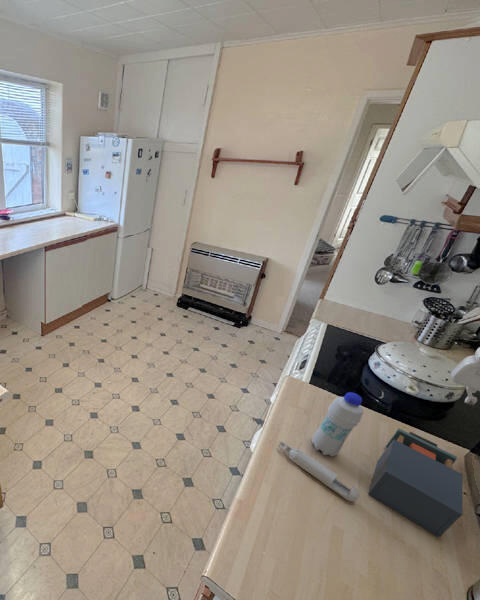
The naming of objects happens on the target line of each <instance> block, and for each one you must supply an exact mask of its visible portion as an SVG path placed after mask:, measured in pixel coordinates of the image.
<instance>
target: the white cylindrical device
mask: <svg viewBox="0 0 480 600" xmlns="http://www.w3.org/2000/svg"><path fill="white" fill-rule="evenodd" d="M302 443H303V441H301V442H300V444H299V445H298V447H297V448H293V447H291V446H290V445H288V443H285V442H284V441H280V442H279V443H278V448H279V449H281V450H282V451H283V452H284V453H286V454H287V455H288V457H289V459H290V461H292V462H293V463H295V465H297V466H298V467H300V468H301V469H303V470H304V471H305V472H306V473H308V474H310V475H311V476H313V477H314V478H316V479H317V480H318V481H320V482H321V483H322V484H324V485H325V486H326V487H328V488H329V489H331V490H332V491H334V492H335V493H336V494H337V495H339V496H341V497H342V498H343V499H345V500H347V501H349V502H356V501H357V500H358V499H359V498H360V492H359V490H358V489H357V488H356V487H355V486H354V485H353V486H352V487H351V488H350V487H348V486H347V485H346V484H344V483H343V482H341V481H340V480H339V479H337V477H338V474H337V473H335V472H334V471H333V470H331V469H330V468H328V467H327V466H325V465H323V464H322V463H320V462H319V461H317V460H316V459H315V458H313V457H311V456H310V455H308V453H305V452H304V451H302V450H301V449H299V448H300V447H301V445H302Z"/></svg>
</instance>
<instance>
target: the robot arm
mask: <svg viewBox="0 0 480 600" xmlns="http://www.w3.org/2000/svg"><path fill="white" fill-rule="evenodd" d="M450 378H451V380H452V382H454V383H455V384H458V385H462V386H464V387H466V389H465V390H466V394H467V396H466V397H465V399H464V403H465V404H468V405H471V406H475V404H476V403H477V402H478V397H476V396H474V395H473V394H476V392H480V346H479V347H478V348H477V349H476V350H475V352H474V354H473V355H469V356H467V357H465V358H463V359H462V360H461V361H460V362H459V363H458V364H457V365H456V366H455V368H454V369H453V370H452V371H451V374H450Z"/></svg>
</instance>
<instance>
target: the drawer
mask: <svg viewBox="0 0 480 600" xmlns="http://www.w3.org/2000/svg"><path fill="white" fill-rule="evenodd" d="M393 439H394V440H396V441H398V442H400V443H402V444H404V445H406V446H408V447H409V446H410V445H411V444H412V443H414V444H416V445H418V446H420V447H422V448H424V449H426V450H428V451H430V452H432V453H434V454H436V459H435V460H436V461H438V462H440V463H442V464H444V465H446V466H448V467H450V468H452V469H453V464H455V462H456V461H458V459H457V458H458V457H457V455H455V454H452V453H450V452H448V451H446V450H445V449H442V448H440V447H438V444H437V443H435V442H433V441H430V440H429V439H427V438H424V437H423V436H421V435H418V434H416V433H414V432H412V431H410V432H407V431H405V430H403V429H401V428H397V430H395V432H394V434H393V435H392V436H391V437H390V439H389V440H388V442H387V443H386V445H385V449H387V448H388V446H389V445H390V444H391V442H392V441H393Z"/></svg>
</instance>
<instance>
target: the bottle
mask: <svg viewBox="0 0 480 600" xmlns="http://www.w3.org/2000/svg"><path fill="white" fill-rule="evenodd" d="M362 402H363V399H362V396H360V395H359V394H357V393H355V392H353V391H352V392H351V391H349V392H347V393H345V394H344V396H337V397H336V398H335V399H334V400H333V401H332V402H331V403H330V405H329V406H328V408H327V413H326V415H325V417H324V419H323V420H322V421H321V424H320V425H319V427H318V429H317V430H316V431H315V432H314V434H313V435H312V438H311V444H312V445H313V446H314V449H315V450H316V451H321V454H322V455H323V456H327V455H328V456H330V457H335V456H336V455H338V454H339V452H340V451H341V449H342V448H343V446H344V443H345V442H346V440H347V439H348V437H349V435H350V434H351V433H352V431H353V429H354V428H355V427H357V426H358V424H359V423H360V422H361V420H362V418H363V417H362V416H363V414H364V408H363V407H362V405H361V404H362Z"/></svg>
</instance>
